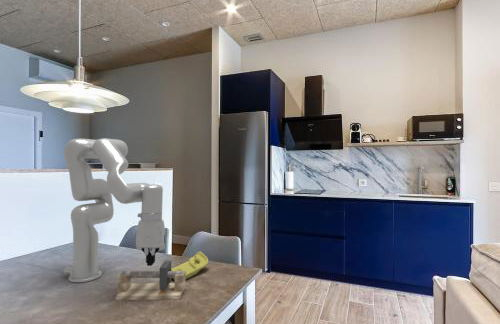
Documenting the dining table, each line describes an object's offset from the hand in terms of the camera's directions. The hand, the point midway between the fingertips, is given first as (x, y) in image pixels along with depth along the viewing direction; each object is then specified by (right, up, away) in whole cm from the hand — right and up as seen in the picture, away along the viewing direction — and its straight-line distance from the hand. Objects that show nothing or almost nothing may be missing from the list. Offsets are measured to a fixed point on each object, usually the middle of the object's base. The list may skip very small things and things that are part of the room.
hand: (150, 264), depth 111 cm
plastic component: (+10, -12, +20) cm, 25 cm away
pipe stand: (+1, -11, 0) cm, 11 cm away
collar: (+6, -8, 0) cm, 10 cm away
